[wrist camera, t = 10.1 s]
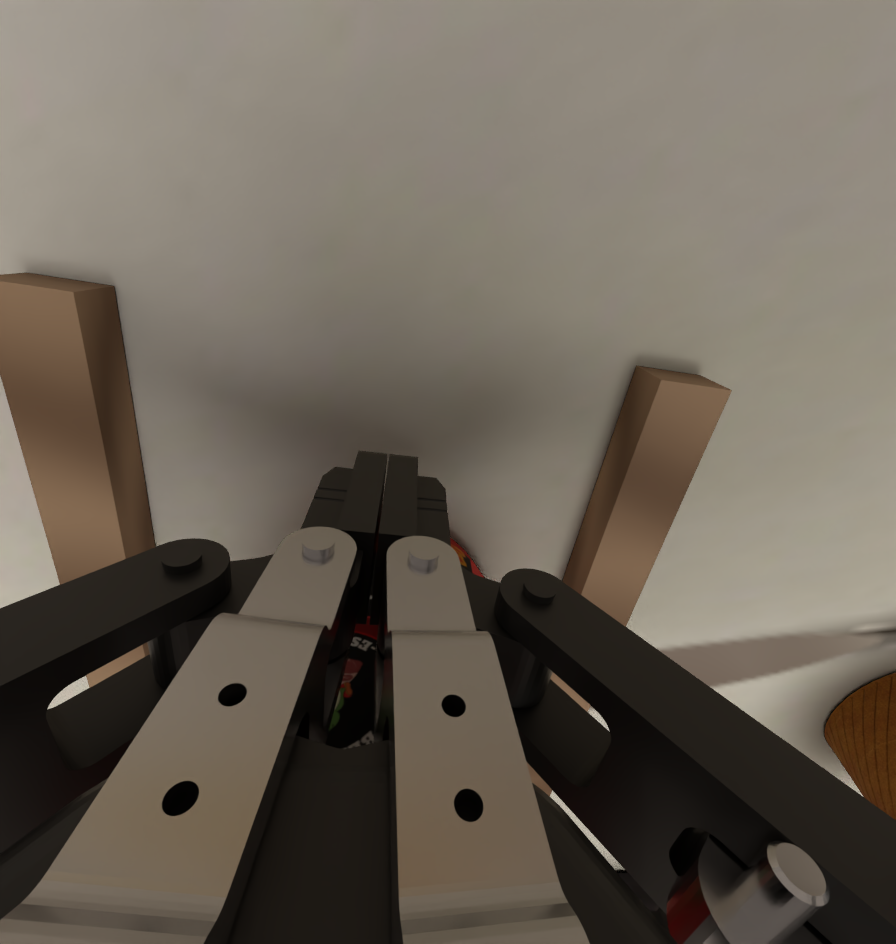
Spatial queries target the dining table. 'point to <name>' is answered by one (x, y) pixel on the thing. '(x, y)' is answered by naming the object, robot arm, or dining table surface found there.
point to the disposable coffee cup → (868, 740)
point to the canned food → (365, 680)
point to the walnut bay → (122, 479)
